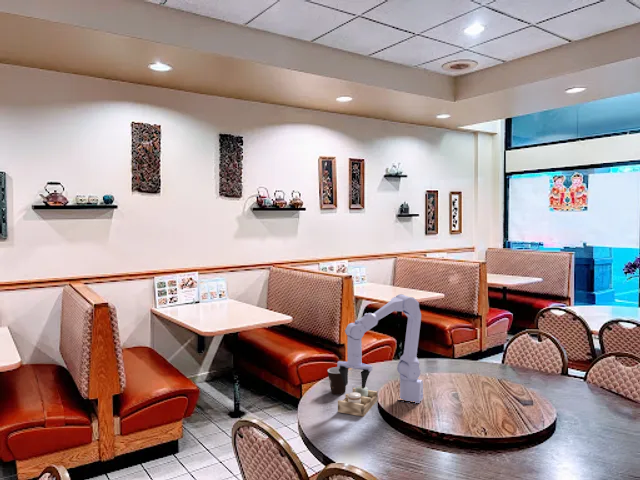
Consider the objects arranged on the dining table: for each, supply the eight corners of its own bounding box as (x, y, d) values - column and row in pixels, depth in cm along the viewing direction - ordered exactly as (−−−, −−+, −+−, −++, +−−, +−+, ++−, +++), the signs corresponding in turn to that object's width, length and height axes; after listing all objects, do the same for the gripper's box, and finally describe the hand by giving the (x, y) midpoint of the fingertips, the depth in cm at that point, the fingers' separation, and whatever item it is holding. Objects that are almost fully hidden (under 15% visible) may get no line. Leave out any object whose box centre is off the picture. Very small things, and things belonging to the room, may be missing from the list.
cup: (362, 406, 201) (362, 393, 201) (358, 411, 196) (358, 397, 196) (350, 404, 203) (350, 391, 203) (346, 409, 199) (345, 395, 198)
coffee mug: (346, 395, 216) (345, 373, 215) (327, 395, 217) (325, 373, 217) (350, 386, 227) (349, 364, 226) (331, 385, 229) (330, 364, 228)
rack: (377, 401, 209) (377, 386, 209) (363, 416, 194) (363, 400, 193) (353, 397, 214) (353, 383, 213) (337, 412, 198) (337, 396, 198)
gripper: (334, 353, 199) (334, 386, 199) (368, 357, 192) (368, 392, 193) (341, 349, 205) (341, 381, 206) (374, 353, 199) (374, 386, 199)
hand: (354, 386), depth 200 cm, fingers open, 7 cm apart
